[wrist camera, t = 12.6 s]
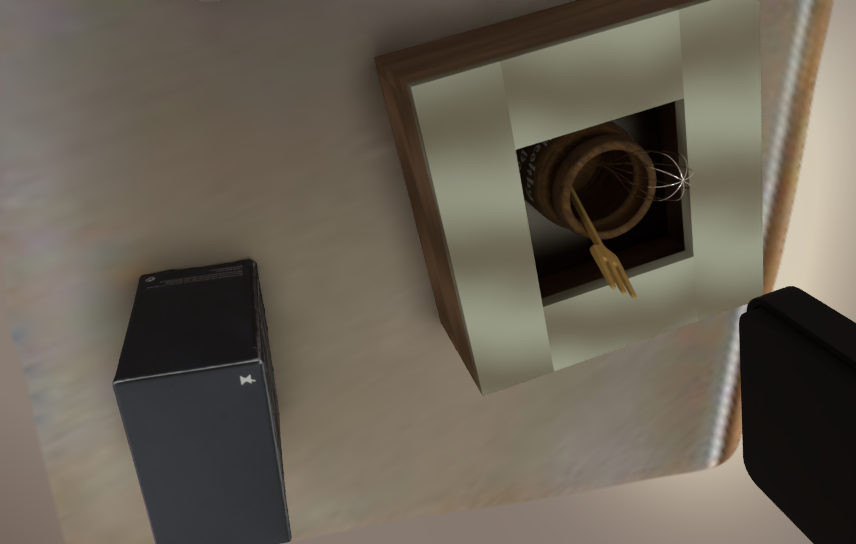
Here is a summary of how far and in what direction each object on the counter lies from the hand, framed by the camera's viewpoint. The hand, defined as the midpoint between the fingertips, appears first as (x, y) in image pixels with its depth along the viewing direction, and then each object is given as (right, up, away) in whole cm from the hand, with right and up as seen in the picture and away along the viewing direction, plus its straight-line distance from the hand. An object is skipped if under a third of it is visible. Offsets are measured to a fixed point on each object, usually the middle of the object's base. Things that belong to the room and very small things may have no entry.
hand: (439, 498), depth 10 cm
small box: (-12, -1, +32) cm, 34 cm away
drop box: (+6, +9, +32) cm, 34 cm away
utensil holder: (+7, +10, +32) cm, 34 cm away
